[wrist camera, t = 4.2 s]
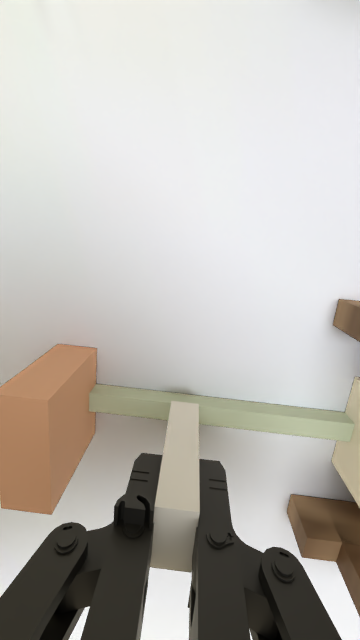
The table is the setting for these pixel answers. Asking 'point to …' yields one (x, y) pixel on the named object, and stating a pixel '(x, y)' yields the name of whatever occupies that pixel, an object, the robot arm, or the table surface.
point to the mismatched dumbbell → (88, 398)
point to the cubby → (332, 503)
